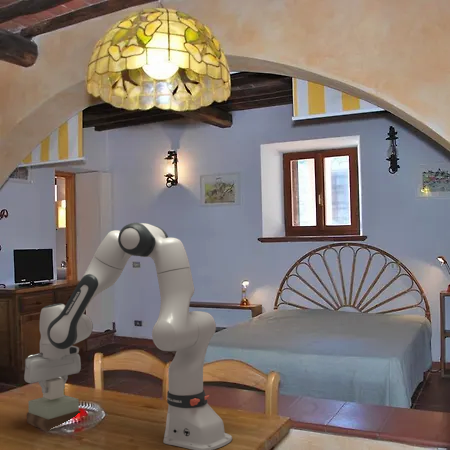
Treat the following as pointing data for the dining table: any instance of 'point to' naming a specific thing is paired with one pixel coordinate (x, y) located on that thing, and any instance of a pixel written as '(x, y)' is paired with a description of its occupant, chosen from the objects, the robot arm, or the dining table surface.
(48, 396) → the cream block
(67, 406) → the tower top
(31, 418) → the tower base
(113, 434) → the dining table surface
